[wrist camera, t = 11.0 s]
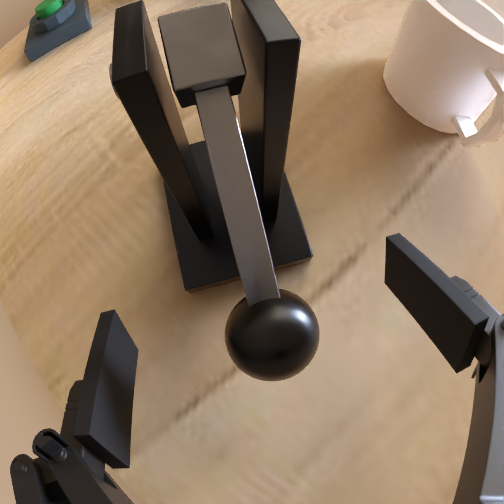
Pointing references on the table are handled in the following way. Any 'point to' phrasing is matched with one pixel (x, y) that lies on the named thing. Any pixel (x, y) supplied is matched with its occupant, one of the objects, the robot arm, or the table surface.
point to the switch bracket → (196, 155)
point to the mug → (450, 67)
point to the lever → (237, 194)
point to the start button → (48, 8)
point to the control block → (57, 28)
